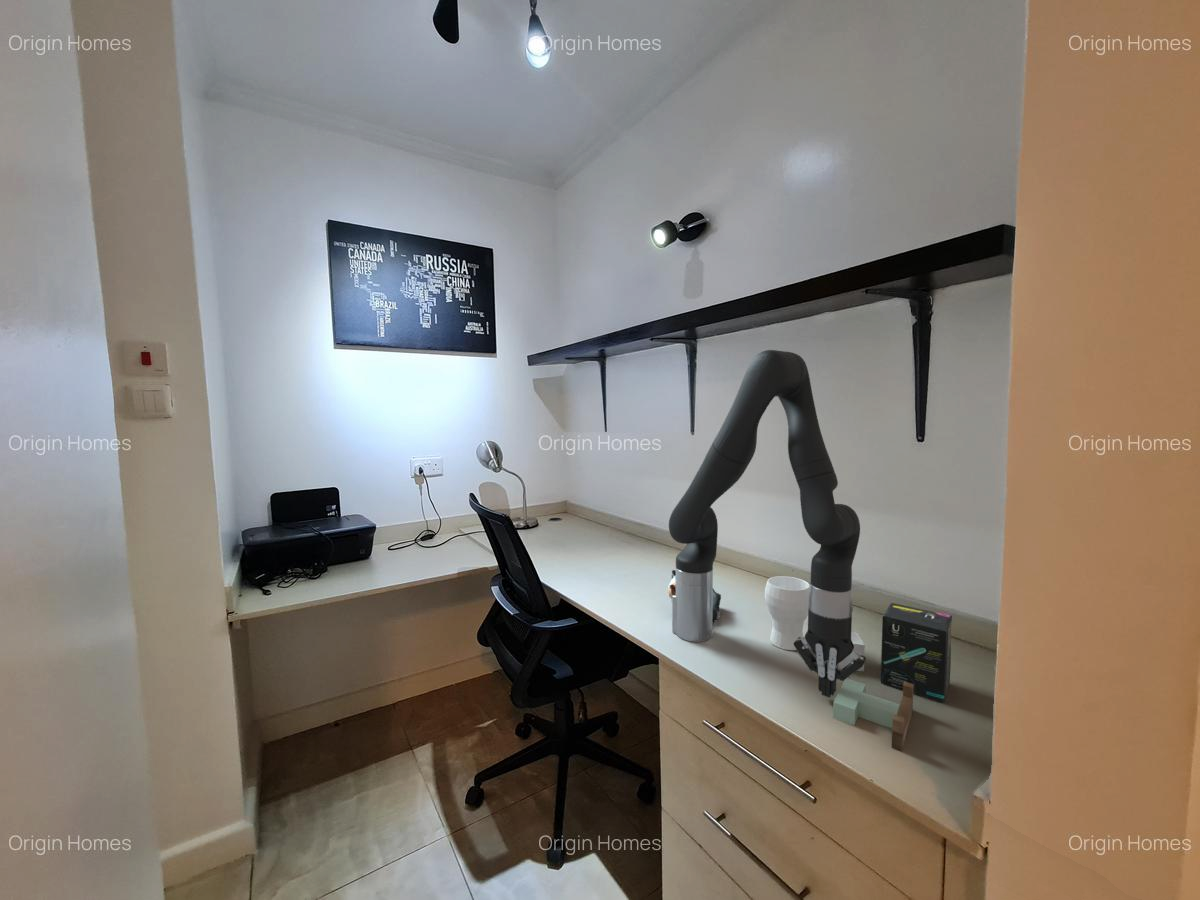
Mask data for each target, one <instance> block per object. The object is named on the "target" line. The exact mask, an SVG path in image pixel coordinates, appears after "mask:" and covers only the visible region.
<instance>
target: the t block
mask: <svg viewBox="0 0 1200 900" xmlns="http://www.w3.org/2000/svg"><path fill="white" fill-rule="evenodd" d="M866 687H867V686H866V684H865V683H862V682H860V681H857V680H853V679H850V678H846V679H845V680H844V681H843V683H842V685H841V687H840V689H839V690H838V693H837V694H836V697H835V699H834V700H833V701H832V702H833V703H832V704H833V705H832V706H833V708H832V718H833V719H835V720H838V721H841V722H844V723H846V724H848V725H851V726H856V723H857V720H858V718H860V719H861V718H862V719H863V720H866V721H870V722H872V723H875V724H878V725H880V726H883V727H886V728H889V729H891V730H892V722H893V716H894V715H897V713H898V709H899V706H900V703H897V702H893V701H890V700H889V699H885V698H881V697H878V696H877V695H876V696H875V695H872V694H870V693H867V692H866V689H867V688H866Z"/></svg>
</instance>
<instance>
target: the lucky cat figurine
mask: <svg viewBox="0 0 1200 900" xmlns="http://www.w3.org/2000/svg"><path fill="white" fill-rule="evenodd" d="M667 588H668V597H669V599H670V601H671V603H672V597H673V596H674V595H675V594H676V569H675V570H674V569H672V570H671V579H670V582H669V584H668V585H667ZM721 599H722V594H720V593H718V592H717V591H716V590H715V589H714V588H713V618H712V624H713V623H714V622H715V621H716V622H717V621H718V620H719V619H720V618H721V613H722V611H721V610H720V604H721Z"/></svg>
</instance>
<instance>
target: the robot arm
mask: <svg viewBox="0 0 1200 900" xmlns="http://www.w3.org/2000/svg"><path fill="white" fill-rule="evenodd" d="M776 397H777V398H778V400H779V401H780V403H781V405H782V407H783V409H784V412H785V415H786V419H787V426H788V429H787V430H788V431H787V433H788V435H787V436H788V437H787V451H788V452H787V453H788V459H789V462H790V466H791V468H792V469H791V470H792V472H793V475H794V477H795V481H796V484H797V485H798V488H799V489H798V490H799V495H800V496H799V498H800V499H799V500H800V508H801V510H800V511H801V517H802V523H803V527H804V529H805V531H806V533H807V535H808V536H809V537H810V539H812V540H813V541H814V542H815V543H816V544H819V545H820V547H819V550H818V551H817V552H816V553H815V554H814V555H813V556H812V558H811V565H810V583H809V585H810V590H809V603H808V616H807V631H806V632H805V634H804V636H803V637H802V638H801V637H798V638H797V639H796V641H795V642H794V646H795V648H796V649H797V650H796V652H798V654H799V656H800V657H801V659H802V660H803V662H804V663H805V665H806V667H807V668H808V669H809V670H810V671H811V672H815V673H816V674H817V676H818V685H817V686H818V691H819V692H821V696H823V697H826V698H832V697H831V696H834V695H835V693H836V691H837V680H839V681H842V682H844V681H845V679H846V678H847V679H849V677H851V676H852V675H854V673H856V672H857V670H858V669H860V668H861V667H862V666H863V665H864V666H865V663H866V657H865V655H864V656H863V655H859V654H858V653H857V652H856V651H855V650H854V645H853V643H852V640H851V632H852V621H853V611H854V606H853V595H852V594H853V593H852V585H853V583H852V581H853V562H854V559H855V557H856V553H857V549H858V545H859V540H860V535H861V534H860V533H861V523H860V520H859V516H858V514H857V513H856V511H855V510H854V509H853V508H852V507H850V506H849V505H847V504H843V503H835V498H834V490H836V489H837V487H838V484H839V481H838V477H837V473H836V472H835V468H834V466H833V464H832V460H831V458H830V456H829V452H828V450H827V447H826V444H825V442H824V438H823V435H822V431H821V427H820V423H819V419H818V414H817V410H816V405H815V400H814V395H813V391H812V383H811V378H810V374H809V369H808V367H807V363H806V361H805V360H804V358H803V357H801V356H800V355H799V354H797V353H795V352H792V351H783V350H776V349H767V350H763V351H761V352H759V353H757V354H756V355H755V356H754V358H753V359H752V360H751V362H750V363H749V364H748V367H747V368H746V371H745V373H744V375H743V378H742V380H741V383H740V385H739V388H738V391H737V393H736V396H735V397H734V400H733V402H732V405H731V407H730V408H729V411H728V413H727V415H726V417H725V419H724V421H723V423H722V424H721V427H720V428H719V430H718V432H717V434H716V436H715V437H714V439H713V442H712V443H711V445H710V447H709V449H708V451H707V453H706V454H705V457H704V459H703V461H702V463H701V464H700V467H699V468H698V470H697V472H696V474H695V476H694V478H693V479H692V481H691V483H690V485H689V486H688V488H687V489H686V491H685V493H684V494H683V496H682V497H681V499H680V500H679V501H678V503H677V504H676V506H675V507H674V508H673V510H672V512H671V515H670V516H669V520H668V531H669V535H670V536H671V538H672V540H674V541H675V542H677V543H679V544H682V545H683V544H685V547H684V548H683V549H682V550H681V551H680V552H679V553H678V554H677V555H676V557H675V571H676V594H675V595H674V596H673V597H672V602H671V603H672V604H671V605H672V609H671V610H672V613H671V615H672V616H671V617H672V619H671V621H672V624H671V625H672V626H671V627H672V629H671V630H672V633H674V634H675V635H676V636H678V637H679V638H680V639H682V640H685V641H689V642H693V643H694V642H698V643H699V642H705V641H709V640H710V639H712V637H713V623H712V618H713V589H714V587H713V586H714V584H713V583H714V582H713V581H714V576H713V575H714V567H713V566H714V562H715V560H716V557H717V551H718V550H717V548H718V531H719V530H718V527H719V525H718V519H717V515H716V513H715V511H714V509H713V508H712V507H711V506H713V504H714V503H715V502H716V501H717V500H718V499H719V498H720V497H722V496H723V495H724V494H725V493H726V492H727V491H728V490H729V489H731V488H732V487H733V486H734V485H735V484H737V482H738V481H739V480H740V479H741V478H742V476H743V474H744V473H745V471H746V470H747V468H748V467H749V465H750V463H751V461H752V459H753V458H754V455H755V453H756V449H757V441H758V440H757V439H758V429H759V424H760V421H761V419H762V417H763V415H764V413H765V412H766V409H767V408H768V407H769V405H770V403H771V402H772V401H773V399H774V398H776ZM810 649H811V650H812V651H811V650H810ZM848 655H850V656H851V657H850V659H849V661H850V663H849V664H848V665H847V666H845V667H844V668H843V669H839V668H838V665H839V663H840V662H841V661H843V660H844V659H845V658H846V657H847V656H848ZM815 656H816V657H815Z"/></svg>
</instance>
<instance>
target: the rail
mask: <svg viewBox="0 0 1200 900" xmlns="http://www.w3.org/2000/svg"><path fill="white" fill-rule="evenodd" d="M913 690H914V684H911V683H908V682H905V681H904V684H903V690H902V696H901V700H900V703H899V704H900V706H899V709H898V713H897V715H894V716H893V722H892V729H891V749H894V750H897V751H900V752H903V749H904V746H905V742H906V737H907V735H908V734H907V733H908V730H909V725H910V722H911V718H912V714H913V710H914V694H913Z"/></svg>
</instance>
